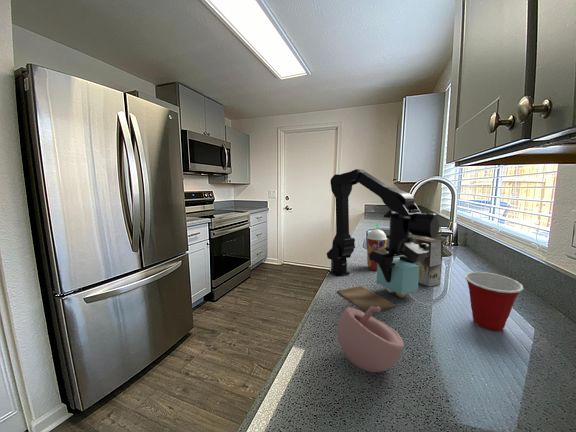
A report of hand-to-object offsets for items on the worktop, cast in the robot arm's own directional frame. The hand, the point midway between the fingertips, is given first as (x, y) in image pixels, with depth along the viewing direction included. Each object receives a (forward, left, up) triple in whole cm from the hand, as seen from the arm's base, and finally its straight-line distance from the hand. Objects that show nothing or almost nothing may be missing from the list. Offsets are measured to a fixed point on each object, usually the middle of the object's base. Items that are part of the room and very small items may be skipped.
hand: (396, 280), depth 75 cm
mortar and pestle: (+20, -30, -5) cm, 36 cm away
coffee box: (-4, +19, -5) cm, 20 cm away
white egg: (-2, 0, -5) cm, 5 cm away
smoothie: (-22, +13, -5) cm, 26 cm away
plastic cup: (+22, +7, -5) cm, 24 cm away
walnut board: (-2, -11, -5) cm, 13 cm away
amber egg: (+2, 0, -5) cm, 5 cm away
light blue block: (0, 0, -2) cm, 2 cm away
